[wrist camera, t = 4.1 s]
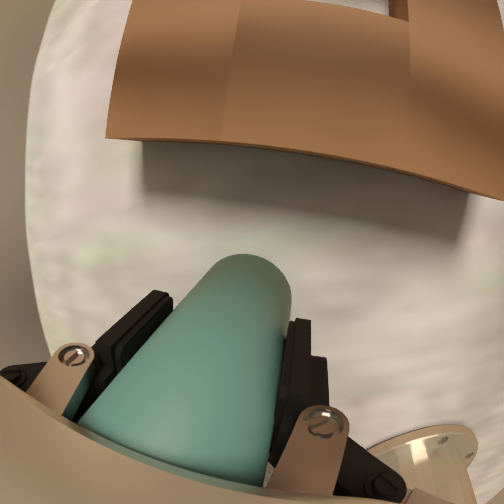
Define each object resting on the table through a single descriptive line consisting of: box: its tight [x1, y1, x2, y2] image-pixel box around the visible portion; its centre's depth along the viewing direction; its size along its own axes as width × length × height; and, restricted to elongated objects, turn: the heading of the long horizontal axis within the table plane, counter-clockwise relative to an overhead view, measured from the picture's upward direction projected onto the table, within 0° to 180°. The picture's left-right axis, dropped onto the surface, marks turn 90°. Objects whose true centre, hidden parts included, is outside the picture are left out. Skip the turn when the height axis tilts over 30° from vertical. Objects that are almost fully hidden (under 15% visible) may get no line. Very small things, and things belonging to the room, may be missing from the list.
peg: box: [77, 254, 291, 487], centre depth 9 cm, size 4×4×12 cm
